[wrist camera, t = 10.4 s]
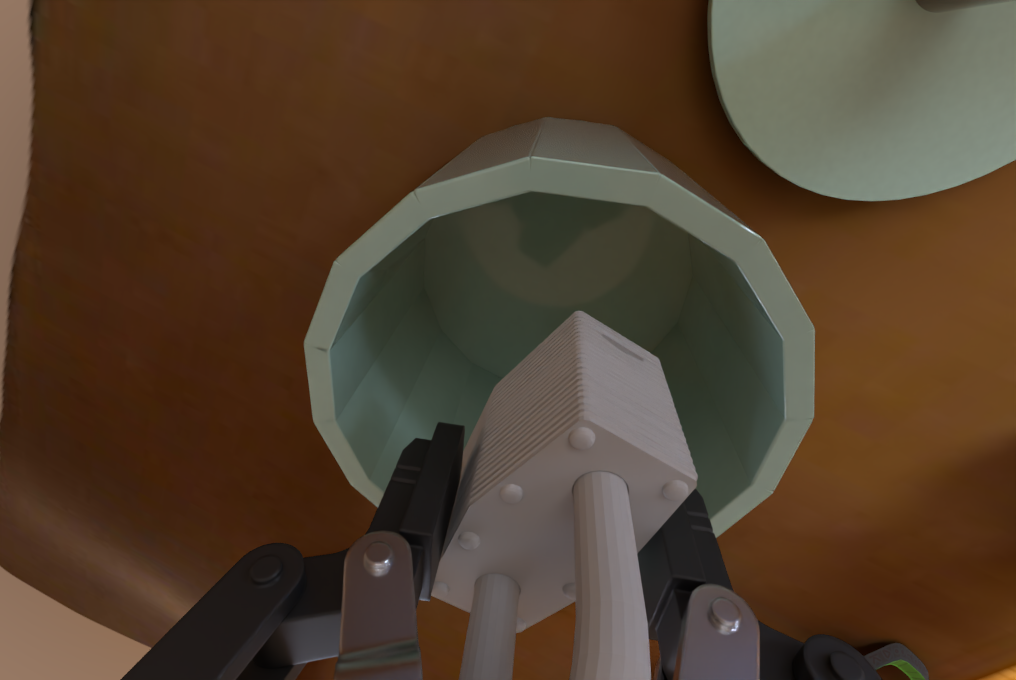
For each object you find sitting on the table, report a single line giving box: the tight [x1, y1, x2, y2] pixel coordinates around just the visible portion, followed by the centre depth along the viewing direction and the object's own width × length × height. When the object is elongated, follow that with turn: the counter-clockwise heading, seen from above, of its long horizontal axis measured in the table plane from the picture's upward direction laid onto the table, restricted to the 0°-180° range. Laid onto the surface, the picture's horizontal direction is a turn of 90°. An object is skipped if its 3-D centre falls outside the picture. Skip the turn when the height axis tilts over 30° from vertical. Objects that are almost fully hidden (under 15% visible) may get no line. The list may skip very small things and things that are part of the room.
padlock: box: [431, 311, 698, 680], centre depth 11 cm, size 7×4×10 cm, turn 149°
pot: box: [304, 117, 815, 538], centre depth 20 cm, size 15×15×12 cm
